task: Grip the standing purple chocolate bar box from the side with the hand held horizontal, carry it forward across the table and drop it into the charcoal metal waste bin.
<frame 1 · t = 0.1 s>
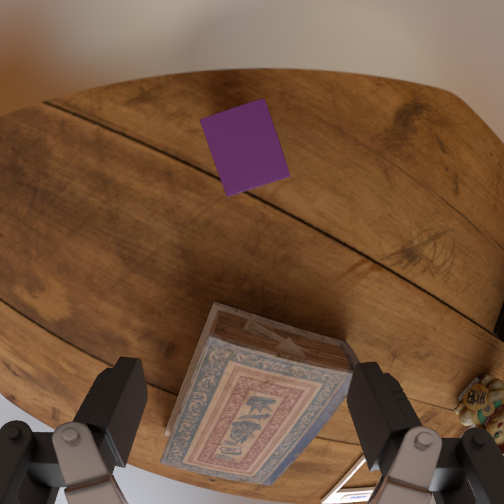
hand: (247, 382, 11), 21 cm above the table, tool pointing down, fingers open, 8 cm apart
book: (249, 392, 38), on the table
chocolate bar: (245, 148, 28), on the table
photo frame: (371, 478, 47), on the table
decorative figurine: (473, 389, 40), on the table
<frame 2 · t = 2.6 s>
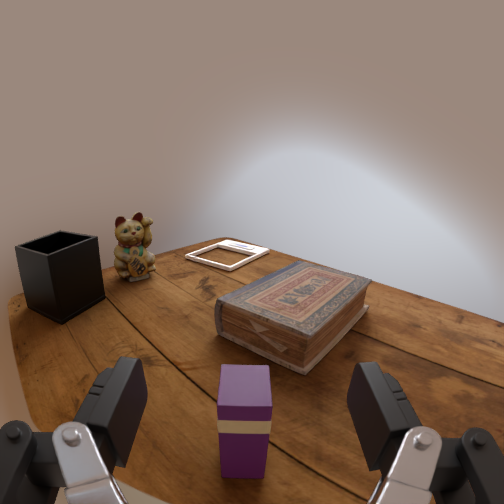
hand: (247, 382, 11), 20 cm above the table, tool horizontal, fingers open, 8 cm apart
waste bin: (65, 303, 54), on the table
book: (297, 324, 53), on the table
chocolate bar: (242, 459, 27), on the table
photo frame: (228, 255, 85), on the table
decorative figurine: (134, 276, 70), on the table
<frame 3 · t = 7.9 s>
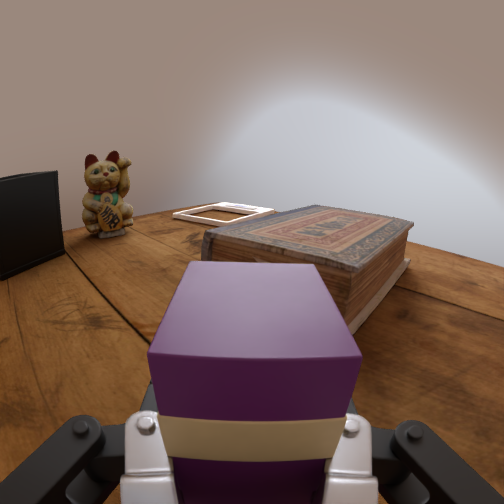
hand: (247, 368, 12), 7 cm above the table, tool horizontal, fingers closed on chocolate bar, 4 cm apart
waste bin: (16, 259, 39), on the table
book: (321, 279, 38), on the table
chocolate bar: (245, 501, 11), on the table, touching gripper
photo frame: (225, 215, 70), on the table
decorative figurine: (107, 234, 54), on the table
when the fingers open (16 cm above the table, at t = 19.6 s): chocolate bar drops 8 cm, resting on waste bin.
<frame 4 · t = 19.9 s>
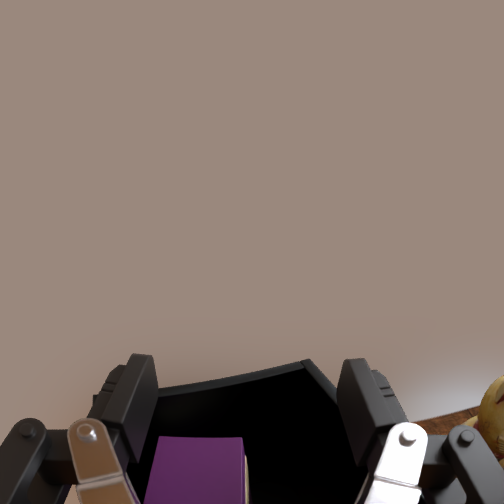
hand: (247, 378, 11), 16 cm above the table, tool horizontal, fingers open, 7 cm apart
decorative figurine: (457, 487, 17), on the table
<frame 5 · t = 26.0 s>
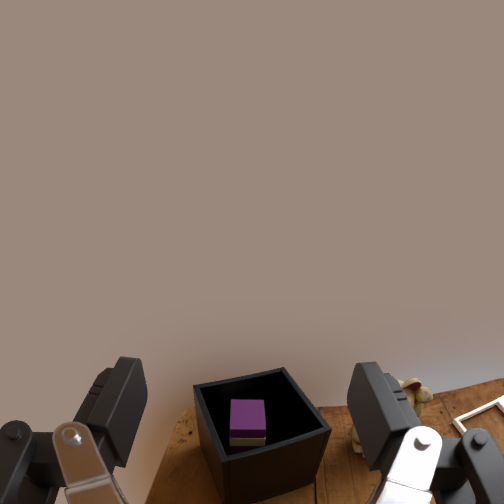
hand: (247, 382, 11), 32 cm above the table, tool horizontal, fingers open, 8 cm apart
waste bin: (254, 465, 37), on the table
chocolate bar: (245, 462, 37), point 1 cm above the table, touching waste bin
photo frame: (502, 431, 35), on the table
decorative figurine: (373, 444, 40), on the table
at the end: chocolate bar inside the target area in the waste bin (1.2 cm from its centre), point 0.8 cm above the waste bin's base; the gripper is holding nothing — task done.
